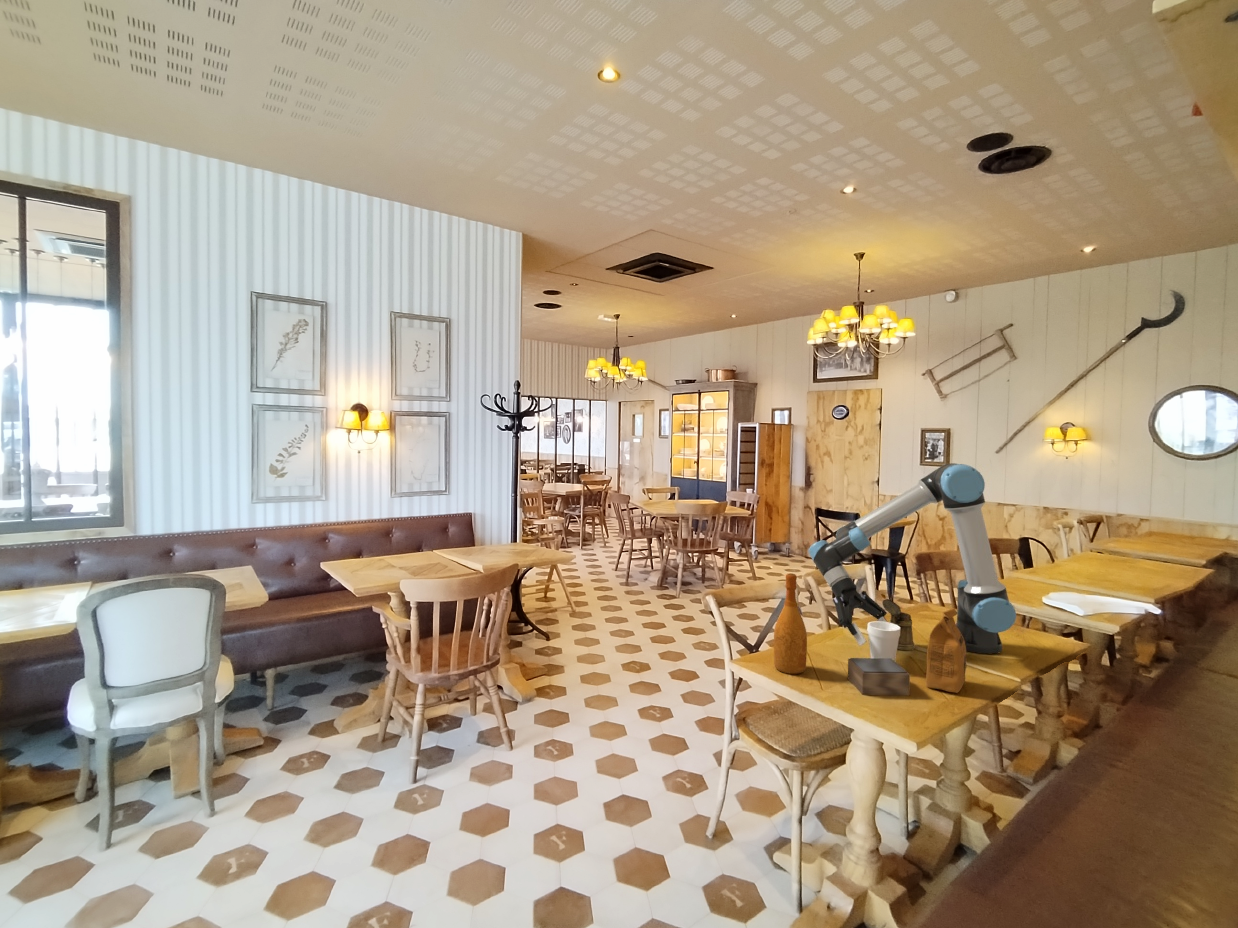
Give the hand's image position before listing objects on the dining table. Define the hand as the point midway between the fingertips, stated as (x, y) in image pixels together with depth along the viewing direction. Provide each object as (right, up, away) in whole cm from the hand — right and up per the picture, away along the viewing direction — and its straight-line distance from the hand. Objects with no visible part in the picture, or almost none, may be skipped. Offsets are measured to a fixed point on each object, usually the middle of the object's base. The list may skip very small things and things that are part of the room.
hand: (877, 640), depth 182 cm
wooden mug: (+14, -8, +16) cm, 22 cm away
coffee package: (+13, -9, -15) cm, 22 cm away
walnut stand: (-7, -9, -15) cm, 19 cm away
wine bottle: (-29, -8, -3) cm, 30 cm away
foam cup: (+1, -8, -1) cm, 8 cm away
